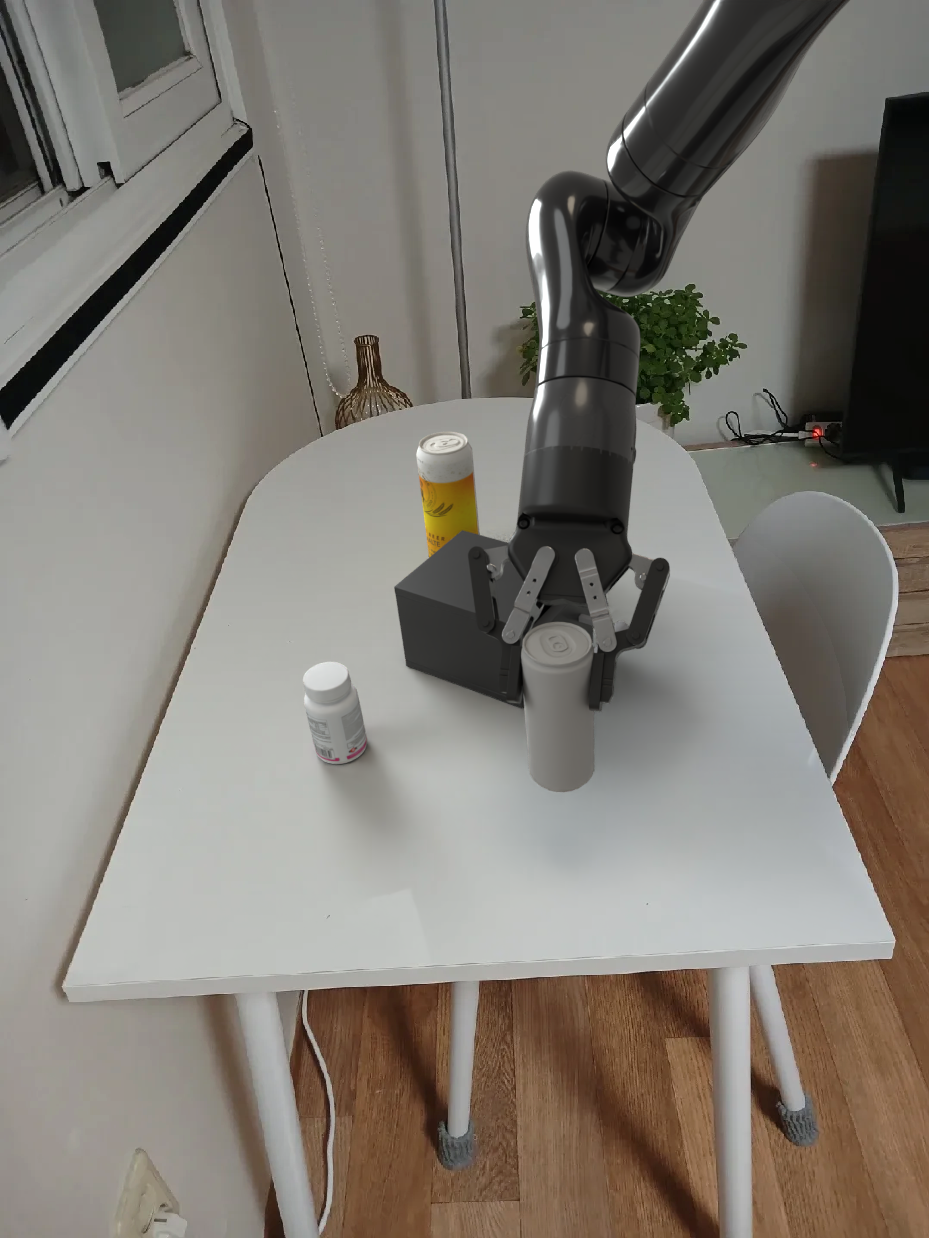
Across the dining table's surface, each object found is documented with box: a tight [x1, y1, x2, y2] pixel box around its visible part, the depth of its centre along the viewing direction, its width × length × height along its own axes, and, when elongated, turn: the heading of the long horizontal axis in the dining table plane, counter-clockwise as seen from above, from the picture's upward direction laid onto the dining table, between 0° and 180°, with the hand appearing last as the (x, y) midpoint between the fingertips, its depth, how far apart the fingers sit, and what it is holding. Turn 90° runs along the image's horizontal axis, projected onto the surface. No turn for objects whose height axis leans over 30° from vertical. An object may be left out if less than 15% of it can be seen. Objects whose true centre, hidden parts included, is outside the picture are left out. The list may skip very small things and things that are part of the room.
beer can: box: [415, 431, 481, 558], centre depth 107 cm, size 6×6×15 cm
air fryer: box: [393, 530, 529, 709], centre depth 93 cm, size 14×12×10 cm
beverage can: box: [521, 622, 596, 793], centre depth 66 cm, size 5×5×12 cm
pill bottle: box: [302, 661, 368, 765], centre depth 84 cm, size 5×5×8 cm
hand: (554, 705), depth 63 cm, fingers closed on beverage can, 5 cm apart
